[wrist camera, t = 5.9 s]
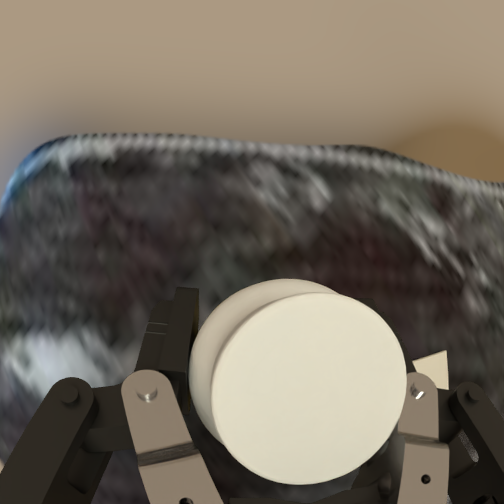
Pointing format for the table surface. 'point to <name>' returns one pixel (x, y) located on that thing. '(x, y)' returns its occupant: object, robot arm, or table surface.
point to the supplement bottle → (297, 380)
